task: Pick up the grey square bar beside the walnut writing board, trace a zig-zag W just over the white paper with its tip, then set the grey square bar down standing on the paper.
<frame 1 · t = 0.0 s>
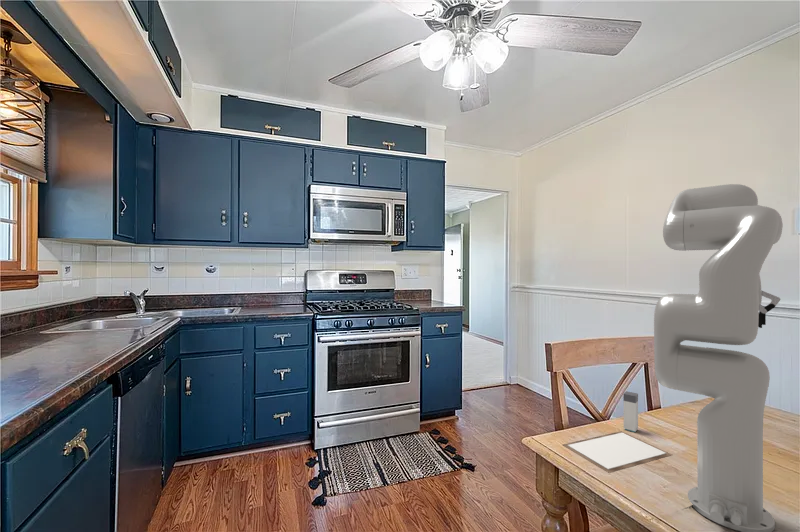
hand: (736, 325, 103), 31 cm above the table, tool pointing down, fingers open, 9 cm apart
paper: (615, 449, 94), resting on board
board: (615, 452, 94), on the table
grey square bar: (630, 432, 105), on the table
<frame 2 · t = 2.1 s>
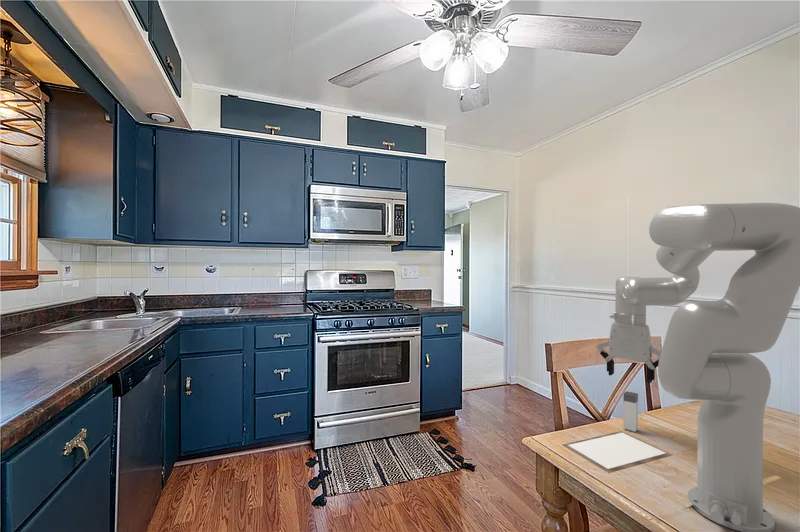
hand: (629, 378, 106), 16 cm above the table, tool pointing down, fingers open, 9 cm apart
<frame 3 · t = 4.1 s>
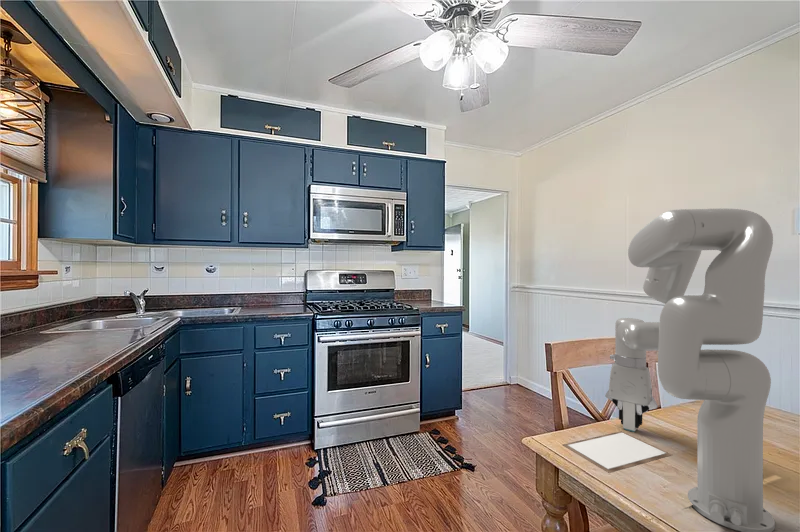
hand: (630, 424, 105), 2 cm above the table, tool pointing down, fingers closed on grey square bar, 2 cm apart
grey square bar: (630, 431, 105), on the table, touching gripper
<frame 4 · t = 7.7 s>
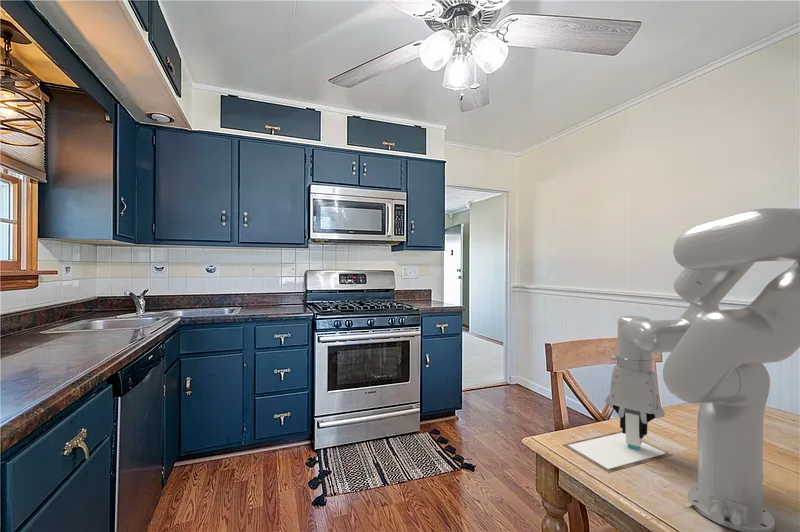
hand: (633, 433, 94), 5 cm above the table, tool pointing down, fingers closed on grey square bar, 3 cm apart
grey square bar: (634, 447, 94), point 1 cm above the table, touching gripper, paper
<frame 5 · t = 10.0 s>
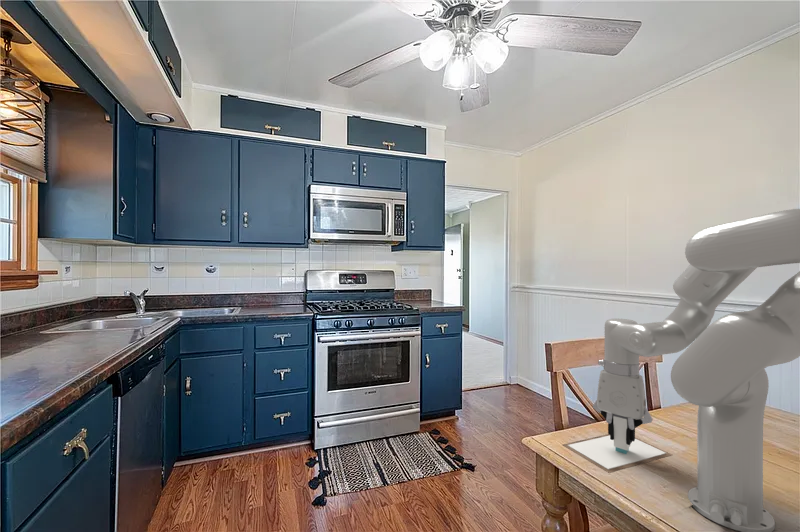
hand: (621, 439, 92), 4 cm above the table, tool pointing down, fingers closed on grey square bar, 3 cm apart
grey square bar: (622, 450, 93), point 1 cm above the table, touching gripper, paper
when the fingers open (4 cm above the table, at t = 11.8 s): grey square bar stays where it is, resting on paper.
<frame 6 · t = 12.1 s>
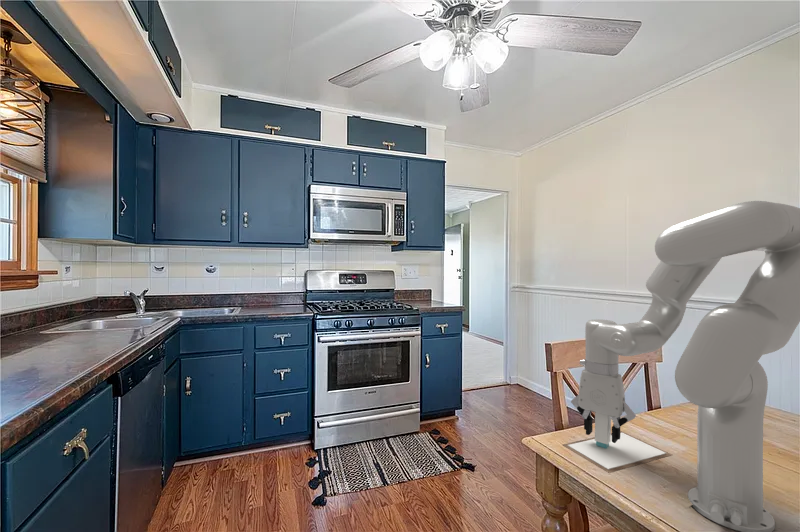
hand: (601, 436, 95), 4 cm above the table, tool pointing down, fingers open, 5 cm apart
grey square bar: (602, 445, 95), point 1 cm above the table, touching paper
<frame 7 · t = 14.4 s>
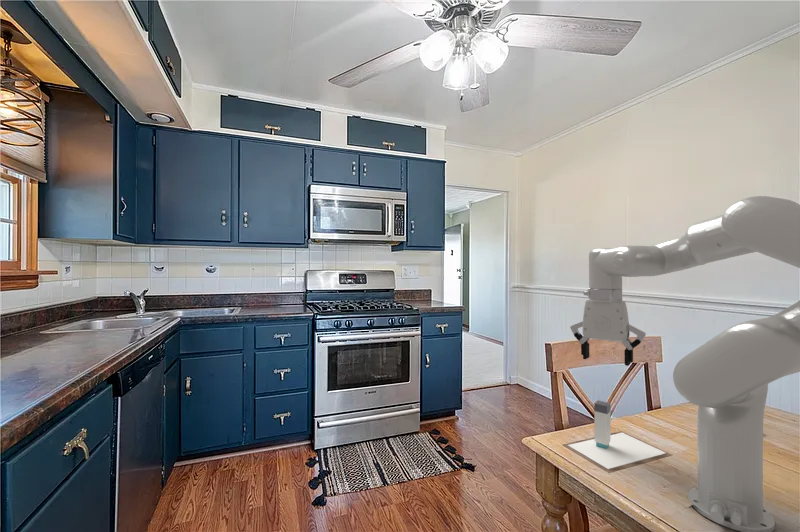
hand: (606, 361, 94), 23 cm above the table, tool pointing down, fingers open, 9 cm apart
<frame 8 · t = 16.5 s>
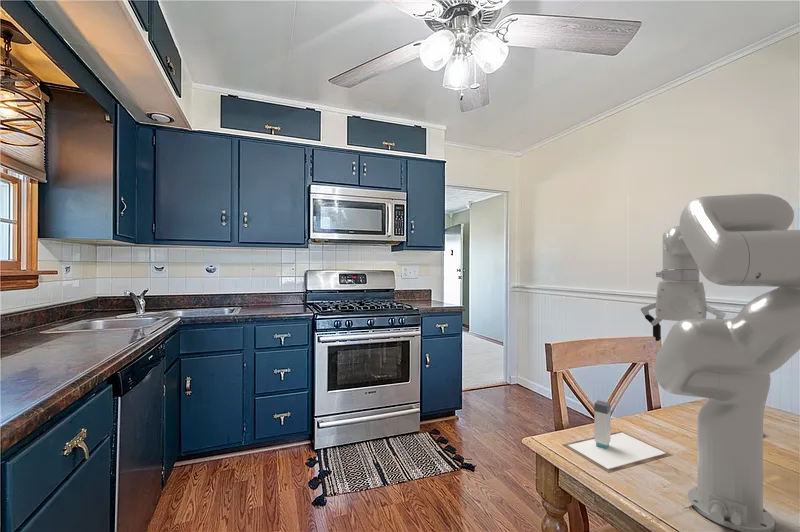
hand: (680, 342, 94), 28 cm above the table, tool pointing down, fingers open, 9 cm apart
at the end: grey square bar inside the target area on the paper (0.9 cm from its centre), point 0.2 cm above the paper's base; grey square bar tilted 0°; the gripper is holding nothing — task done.
